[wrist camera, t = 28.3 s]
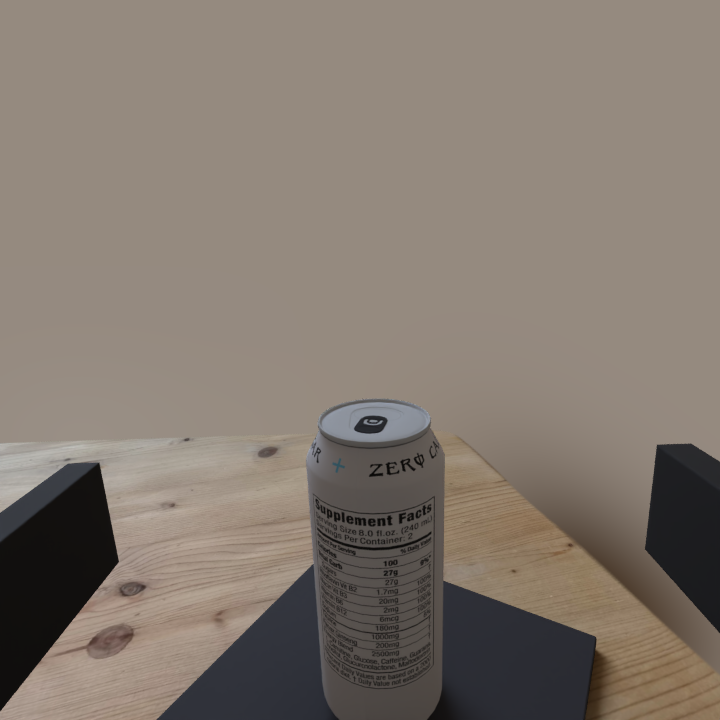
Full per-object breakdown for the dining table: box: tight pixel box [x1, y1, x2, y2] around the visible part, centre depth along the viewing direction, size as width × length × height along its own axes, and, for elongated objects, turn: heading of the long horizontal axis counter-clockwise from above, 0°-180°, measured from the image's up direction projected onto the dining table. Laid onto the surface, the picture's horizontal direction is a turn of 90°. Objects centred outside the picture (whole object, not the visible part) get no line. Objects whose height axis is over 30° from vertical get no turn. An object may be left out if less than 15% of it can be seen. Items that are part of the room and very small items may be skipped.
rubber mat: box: [157, 564, 596, 720], centre depth 24 cm, size 18×18×1 cm
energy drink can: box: [306, 399, 445, 720], centre depth 22 cm, size 6×6×15 cm
